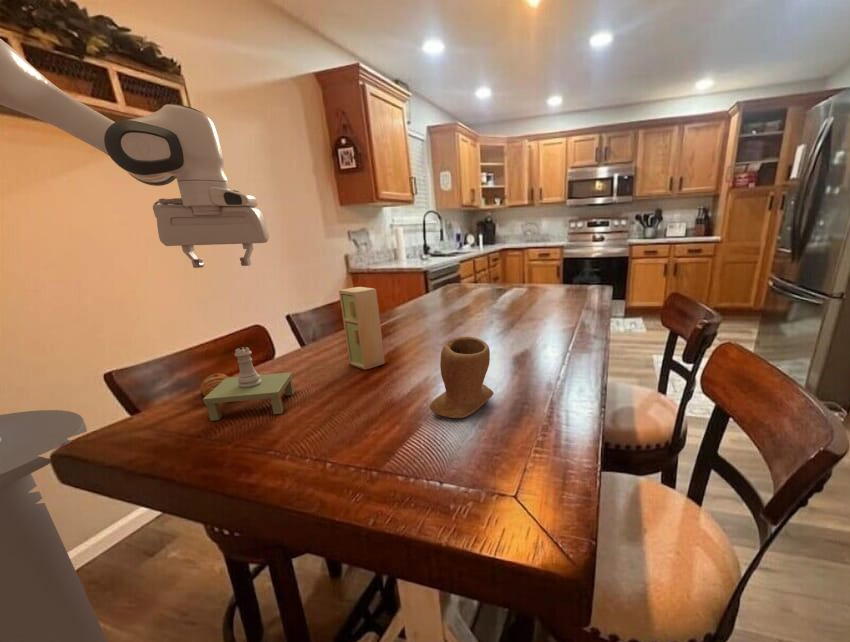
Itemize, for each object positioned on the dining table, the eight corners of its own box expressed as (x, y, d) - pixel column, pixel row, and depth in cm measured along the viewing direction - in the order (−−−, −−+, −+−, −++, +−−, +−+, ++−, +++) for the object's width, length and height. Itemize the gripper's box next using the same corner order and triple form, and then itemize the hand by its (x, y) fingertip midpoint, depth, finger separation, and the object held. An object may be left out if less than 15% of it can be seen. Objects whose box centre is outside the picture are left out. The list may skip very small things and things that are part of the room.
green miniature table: (208, 421, 82) (202, 399, 80) (231, 397, 93) (226, 377, 91) (282, 414, 84) (278, 392, 83) (295, 391, 96) (292, 372, 94)
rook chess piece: (264, 379, 90) (256, 345, 87) (258, 387, 85) (250, 351, 83) (242, 381, 89) (234, 347, 86) (235, 389, 85) (226, 353, 82)
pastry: (235, 396, 94) (231, 381, 92) (201, 404, 90) (196, 388, 89) (233, 384, 101) (230, 370, 100) (201, 390, 98) (197, 376, 96)
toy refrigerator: (346, 365, 113) (335, 289, 106) (369, 358, 118) (360, 286, 111) (362, 371, 108) (352, 292, 101) (385, 364, 113) (377, 288, 106)
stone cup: (471, 428, 76) (469, 353, 71) (422, 415, 82) (416, 344, 77) (508, 399, 89) (508, 333, 84) (462, 389, 94) (460, 327, 90)
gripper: (141, 197, 78) (161, 270, 83) (254, 196, 82) (268, 265, 87) (159, 199, 84) (176, 267, 89) (264, 198, 88) (276, 263, 92)
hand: (222, 266), depth 88 cm, fingers open, 8 cm apart
